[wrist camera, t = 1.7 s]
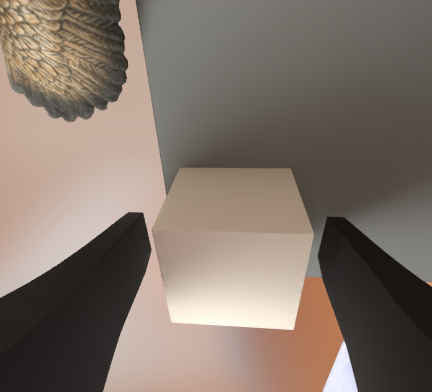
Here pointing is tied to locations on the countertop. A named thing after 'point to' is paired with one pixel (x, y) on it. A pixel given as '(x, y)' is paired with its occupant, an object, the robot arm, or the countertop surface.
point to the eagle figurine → (64, 53)
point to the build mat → (304, 105)
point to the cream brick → (233, 247)
